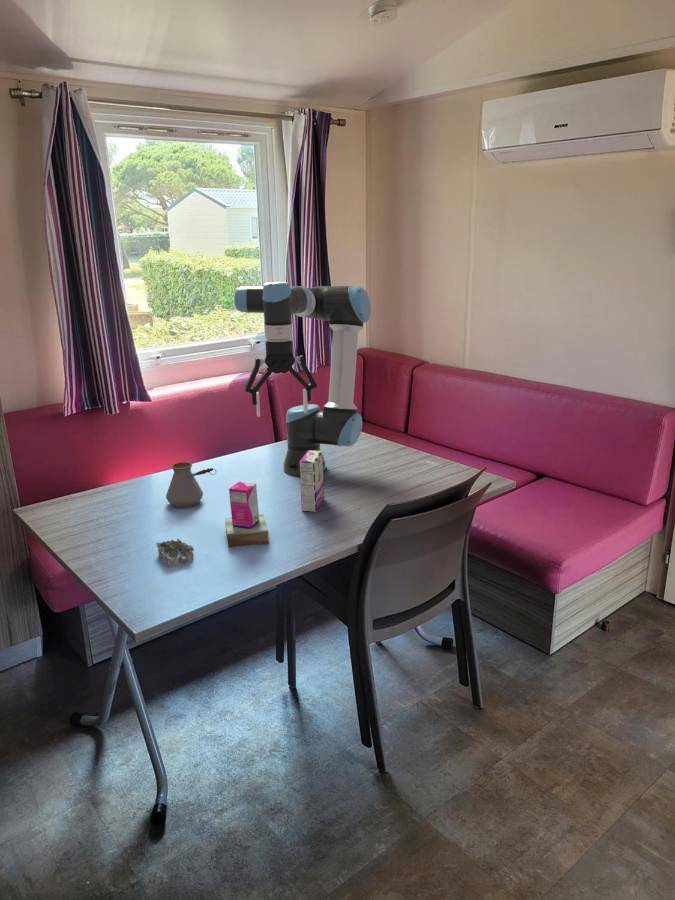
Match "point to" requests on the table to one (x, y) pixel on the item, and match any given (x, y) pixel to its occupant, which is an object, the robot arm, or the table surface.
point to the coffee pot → (184, 486)
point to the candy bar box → (311, 480)
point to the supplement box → (244, 505)
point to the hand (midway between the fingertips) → (282, 414)
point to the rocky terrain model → (175, 552)
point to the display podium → (247, 533)
